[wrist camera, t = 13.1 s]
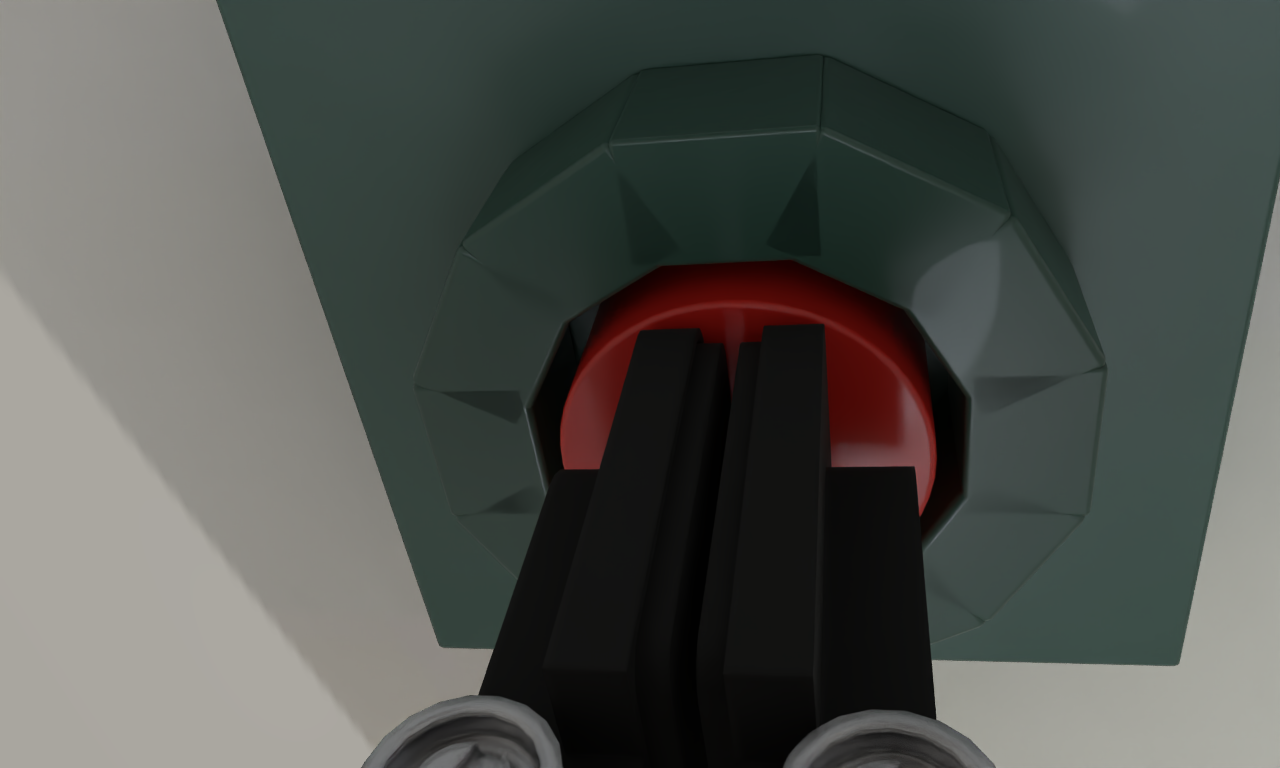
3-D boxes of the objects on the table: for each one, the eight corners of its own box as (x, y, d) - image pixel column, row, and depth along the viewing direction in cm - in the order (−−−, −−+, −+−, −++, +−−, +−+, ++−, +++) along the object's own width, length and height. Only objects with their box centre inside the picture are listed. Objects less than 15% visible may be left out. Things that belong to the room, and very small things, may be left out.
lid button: (617, 491, 13) (590, 596, 12) (566, 223, 11) (526, 310, 10) (924, 489, 12) (934, 601, 11) (927, 202, 10) (941, 293, 9)
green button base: (479, 545, 18) (397, 754, 14) (283, -122, 12) (75, -28, 9) (1141, 548, 16) (1221, 793, 12) (1274, -253, 10) (1479, -191, 7)
